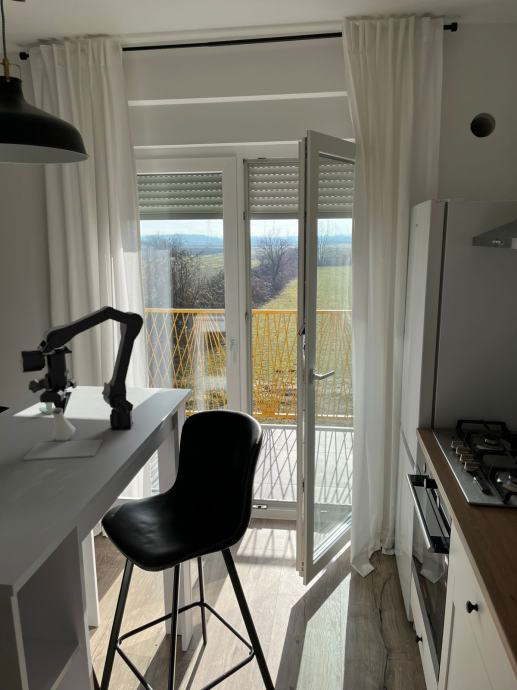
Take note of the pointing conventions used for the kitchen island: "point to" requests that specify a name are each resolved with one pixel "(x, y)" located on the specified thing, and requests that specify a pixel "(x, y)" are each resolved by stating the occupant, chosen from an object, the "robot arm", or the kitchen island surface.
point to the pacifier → (47, 408)
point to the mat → (64, 449)
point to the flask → (61, 426)
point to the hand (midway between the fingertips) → (61, 416)
